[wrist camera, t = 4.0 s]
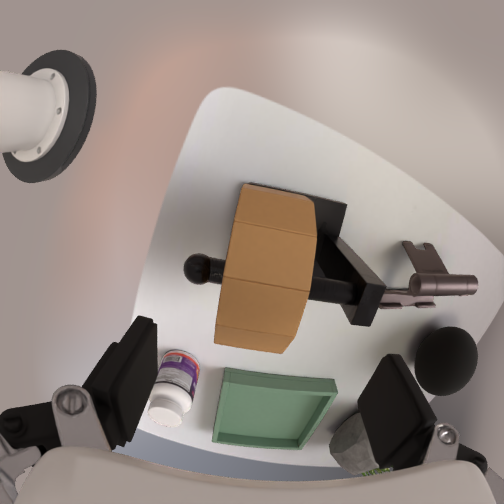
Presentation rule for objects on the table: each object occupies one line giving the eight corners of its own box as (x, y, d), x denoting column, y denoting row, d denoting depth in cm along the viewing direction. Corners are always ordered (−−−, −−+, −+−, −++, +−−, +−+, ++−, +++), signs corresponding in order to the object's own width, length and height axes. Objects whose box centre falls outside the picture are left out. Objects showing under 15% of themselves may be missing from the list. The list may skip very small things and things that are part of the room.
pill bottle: (190, 382, 35) (176, 435, 26) (156, 364, 35) (135, 415, 25) (207, 361, 34) (195, 418, 25) (172, 342, 33) (150, 396, 24)
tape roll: (225, 294, 26) (208, 374, 16) (245, 179, 23) (236, 196, 12) (271, 302, 26) (278, 384, 16) (297, 189, 23) (331, 215, 12)
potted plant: (385, 398, 32) (434, 429, 31) (340, 401, 43) (388, 430, 42) (348, 469, 26) (406, 490, 25) (307, 456, 37) (361, 479, 35)
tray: (213, 429, 40) (211, 442, 37) (225, 367, 34) (223, 381, 32) (299, 438, 40) (301, 449, 38) (334, 379, 35) (338, 392, 32)
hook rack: (204, 269, 30) (174, 338, 18) (218, 176, 26) (188, 191, 14) (320, 289, 30) (352, 363, 18) (345, 203, 27) (404, 236, 15)
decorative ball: (445, 301, 31) (484, 340, 21) (461, 335, 33) (493, 371, 24) (394, 348, 33) (422, 396, 24) (417, 375, 35) (441, 417, 26)
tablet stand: (372, 301, 31) (400, 341, 23) (386, 238, 28) (424, 266, 20) (426, 300, 31) (459, 334, 23) (442, 244, 28) (483, 269, 20)
